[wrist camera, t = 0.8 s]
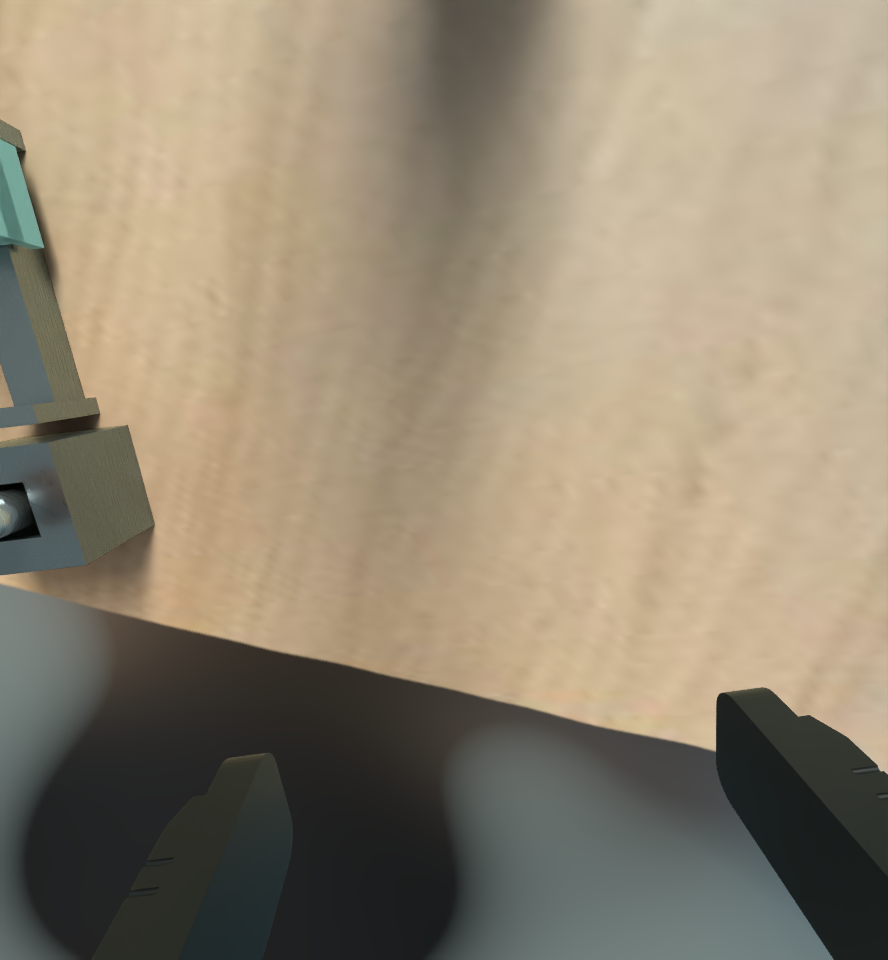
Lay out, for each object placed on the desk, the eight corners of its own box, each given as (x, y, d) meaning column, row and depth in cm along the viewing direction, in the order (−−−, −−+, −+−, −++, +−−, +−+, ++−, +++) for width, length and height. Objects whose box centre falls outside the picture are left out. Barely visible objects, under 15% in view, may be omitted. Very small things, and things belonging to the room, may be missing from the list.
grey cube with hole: (23, 437, 37) (-85, 458, 29) (127, 425, 37) (47, 442, 29) (55, 536, 39) (-38, 579, 31) (154, 524, 39) (86, 565, 31)
